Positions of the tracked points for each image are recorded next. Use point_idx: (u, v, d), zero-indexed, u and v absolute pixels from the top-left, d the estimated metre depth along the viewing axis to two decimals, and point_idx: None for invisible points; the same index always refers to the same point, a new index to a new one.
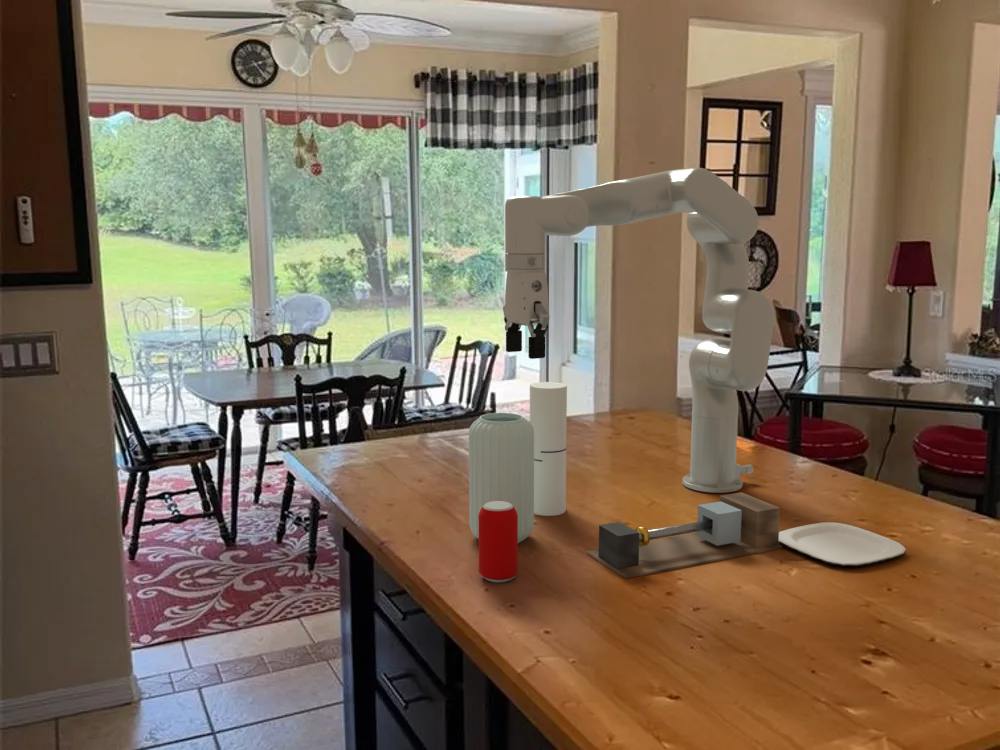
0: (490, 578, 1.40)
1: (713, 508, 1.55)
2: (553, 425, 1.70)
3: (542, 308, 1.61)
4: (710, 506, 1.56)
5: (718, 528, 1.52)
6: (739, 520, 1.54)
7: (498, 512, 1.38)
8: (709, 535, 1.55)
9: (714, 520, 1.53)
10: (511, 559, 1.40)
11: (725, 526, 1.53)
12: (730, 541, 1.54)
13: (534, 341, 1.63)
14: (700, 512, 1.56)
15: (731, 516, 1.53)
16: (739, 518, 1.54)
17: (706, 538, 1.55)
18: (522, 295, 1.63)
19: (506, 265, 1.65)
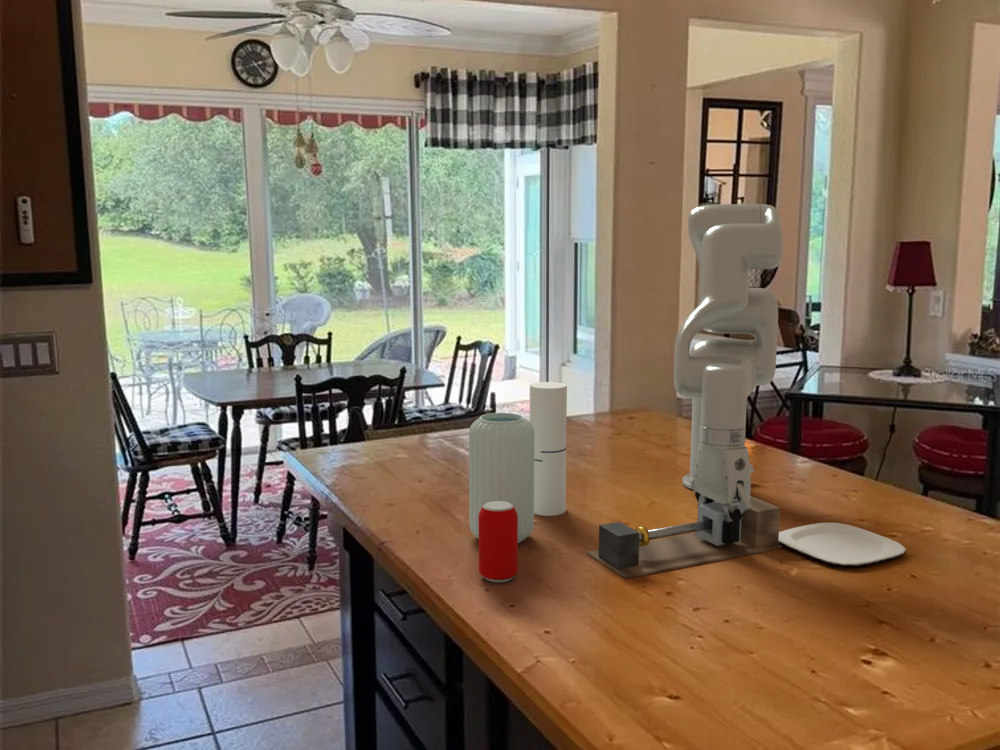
0: (490, 578, 1.40)
1: (713, 508, 1.55)
2: (553, 425, 1.70)
3: (744, 495, 1.49)
4: (710, 506, 1.56)
5: (718, 528, 1.52)
6: None
7: (498, 512, 1.38)
8: (709, 535, 1.55)
9: (714, 520, 1.53)
10: (511, 559, 1.40)
11: None
12: None
13: (729, 526, 1.52)
14: (700, 512, 1.56)
15: None
16: None
17: (706, 538, 1.55)
18: (722, 473, 1.50)
19: (703, 439, 1.52)
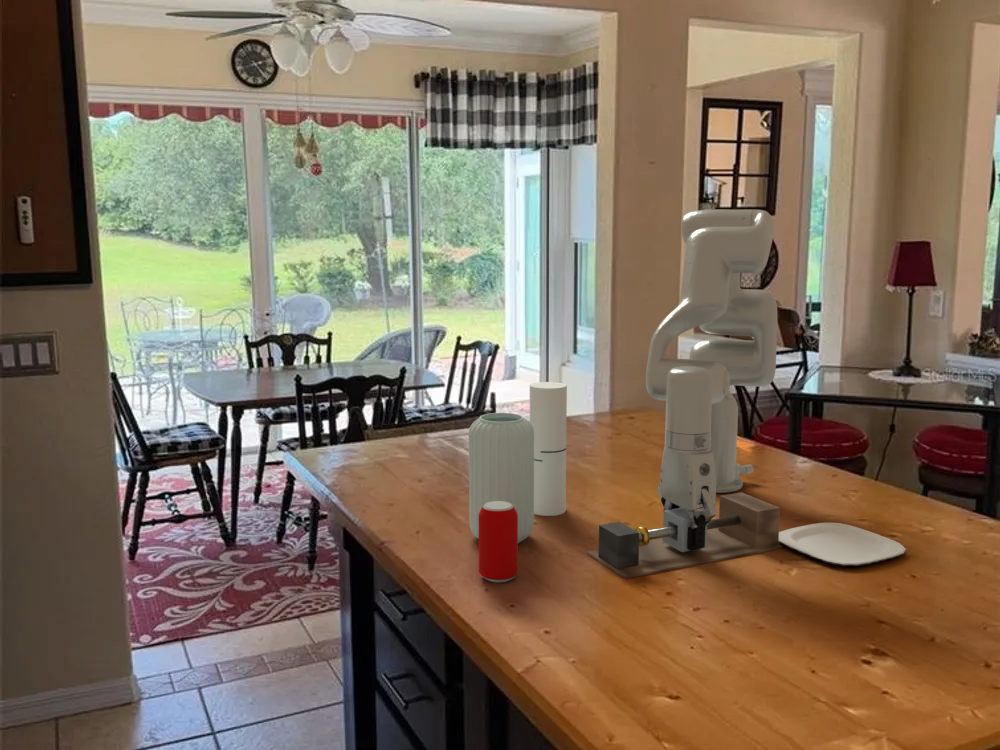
0: (490, 578, 1.40)
1: (679, 513, 1.52)
2: (553, 425, 1.70)
3: (709, 500, 1.46)
4: (676, 511, 1.53)
5: (683, 534, 1.49)
6: None
7: (498, 512, 1.38)
8: (674, 541, 1.52)
9: (679, 525, 1.50)
10: (511, 559, 1.40)
11: None
12: None
13: (694, 532, 1.49)
14: (666, 518, 1.53)
15: None
16: None
17: (671, 544, 1.52)
18: (687, 478, 1.47)
19: (668, 443, 1.49)
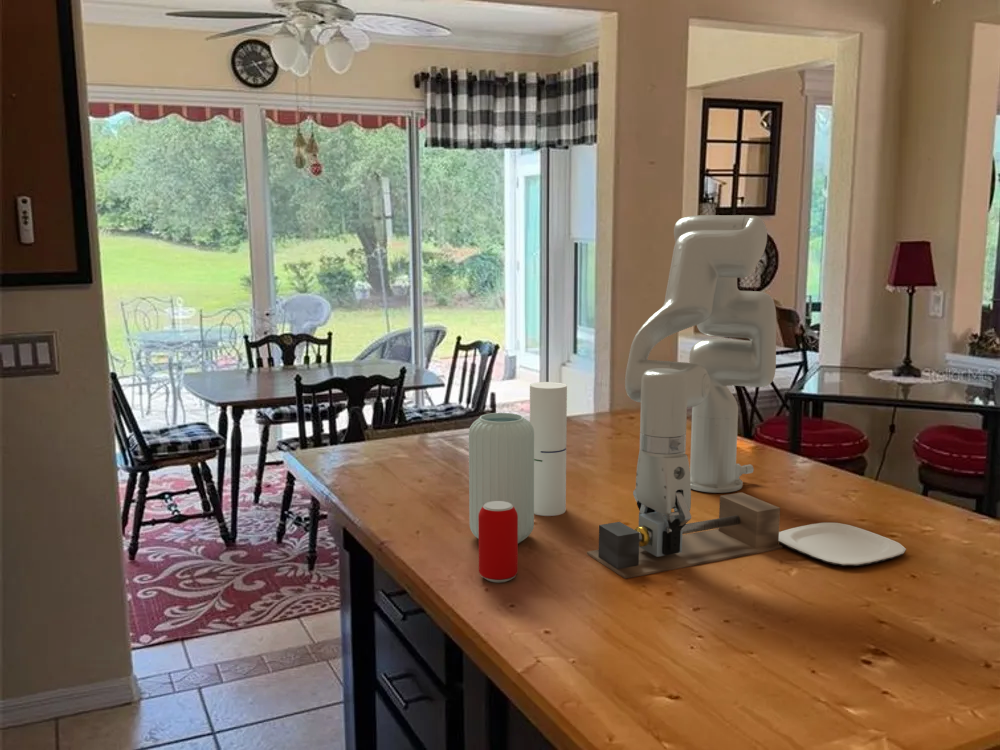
0: (490, 578, 1.40)
1: (654, 517, 1.50)
2: (553, 425, 1.70)
3: (684, 504, 1.44)
4: (651, 515, 1.51)
5: (658, 538, 1.47)
6: None
7: (498, 512, 1.38)
8: (649, 546, 1.49)
9: (654, 530, 1.48)
10: (511, 559, 1.40)
11: None
12: None
13: (669, 536, 1.47)
14: (641, 522, 1.51)
15: None
16: None
17: (647, 549, 1.50)
18: (661, 482, 1.45)
19: (642, 446, 1.47)
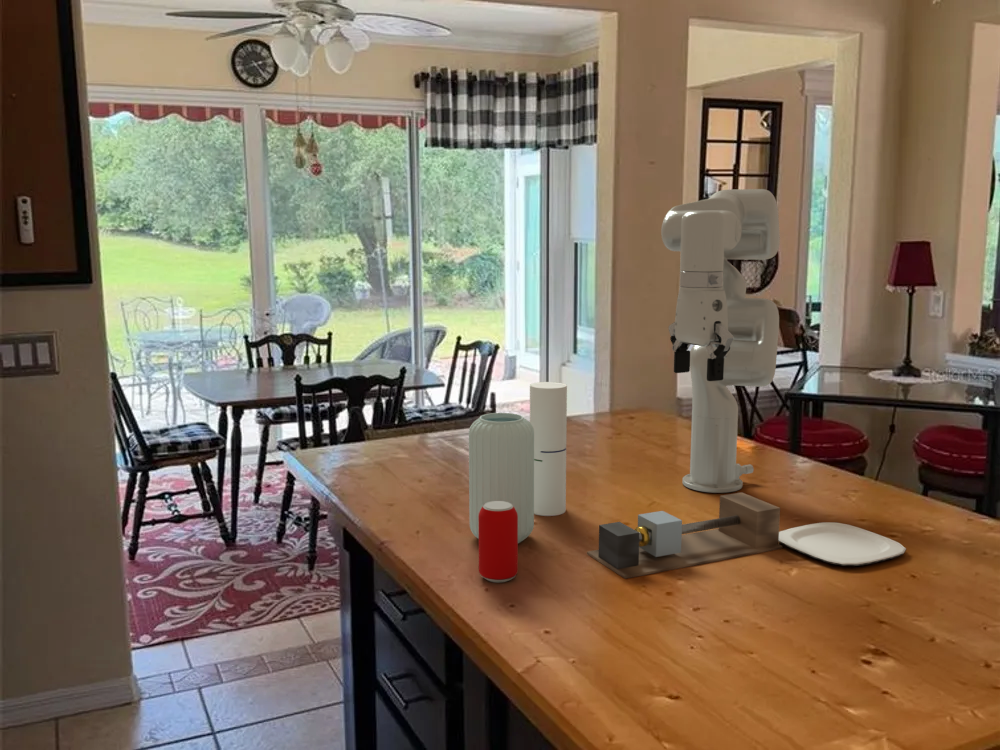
0: (490, 578, 1.40)
1: (653, 517, 1.50)
2: (553, 425, 1.70)
3: (724, 329, 1.54)
4: (650, 515, 1.51)
5: (657, 539, 1.47)
6: (679, 530, 1.49)
7: (498, 512, 1.38)
8: (648, 546, 1.49)
9: (653, 530, 1.48)
10: (511, 559, 1.40)
11: (664, 536, 1.48)
12: (670, 552, 1.49)
13: (714, 363, 1.56)
14: (640, 522, 1.51)
15: (671, 526, 1.48)
16: (679, 528, 1.49)
17: (646, 549, 1.50)
18: (701, 314, 1.56)
19: (682, 283, 1.58)
